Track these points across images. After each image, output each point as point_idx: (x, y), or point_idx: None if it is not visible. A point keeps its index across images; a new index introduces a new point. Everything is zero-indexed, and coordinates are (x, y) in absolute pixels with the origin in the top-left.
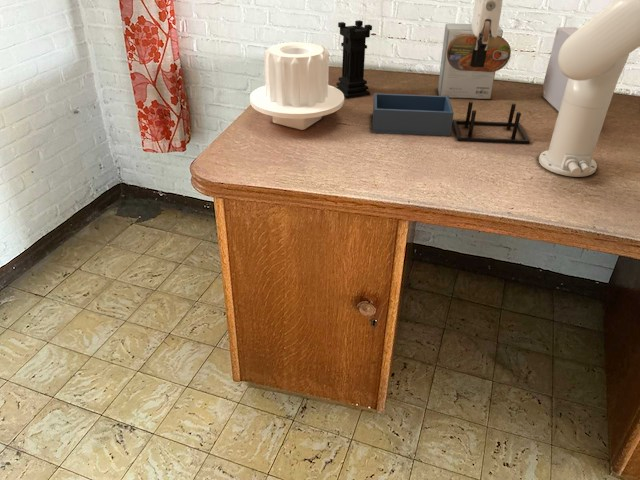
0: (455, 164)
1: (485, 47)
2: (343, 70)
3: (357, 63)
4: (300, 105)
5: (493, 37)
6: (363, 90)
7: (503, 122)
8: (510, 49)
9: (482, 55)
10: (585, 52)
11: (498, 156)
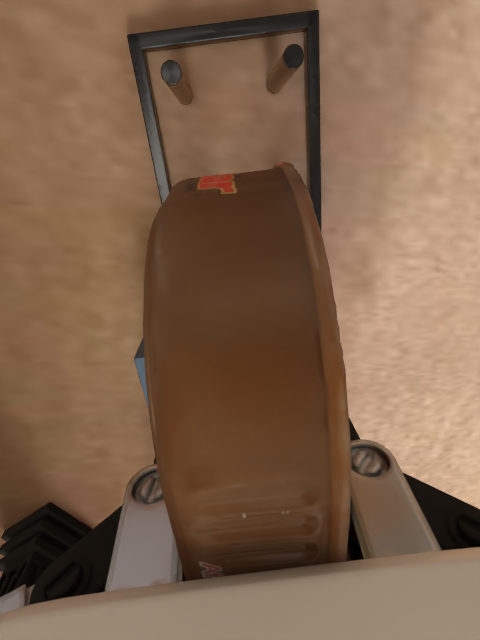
0: (471, 285)
1: (444, 495)
2: None
3: None
4: None
5: (447, 551)
6: (53, 524)
7: (146, 115)
8: (300, 181)
9: (354, 431)
10: None
11: (425, 157)
